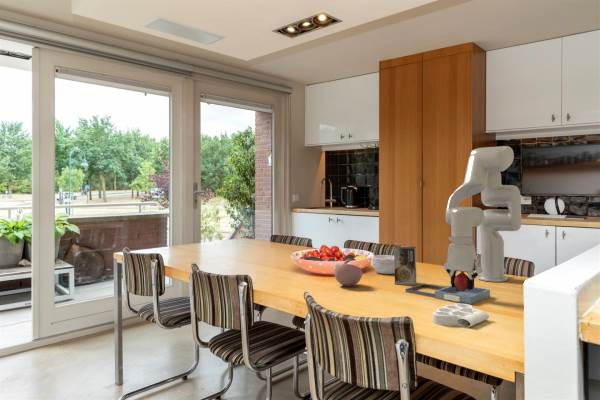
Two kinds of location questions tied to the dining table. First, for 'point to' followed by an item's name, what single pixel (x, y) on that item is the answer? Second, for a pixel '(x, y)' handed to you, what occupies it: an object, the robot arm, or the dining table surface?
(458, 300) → the tray
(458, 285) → the onion
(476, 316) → the white multi-well holder
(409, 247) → the coffee box
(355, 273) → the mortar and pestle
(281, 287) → the dining table surface
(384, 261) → the paper bowls
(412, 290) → the bracket
